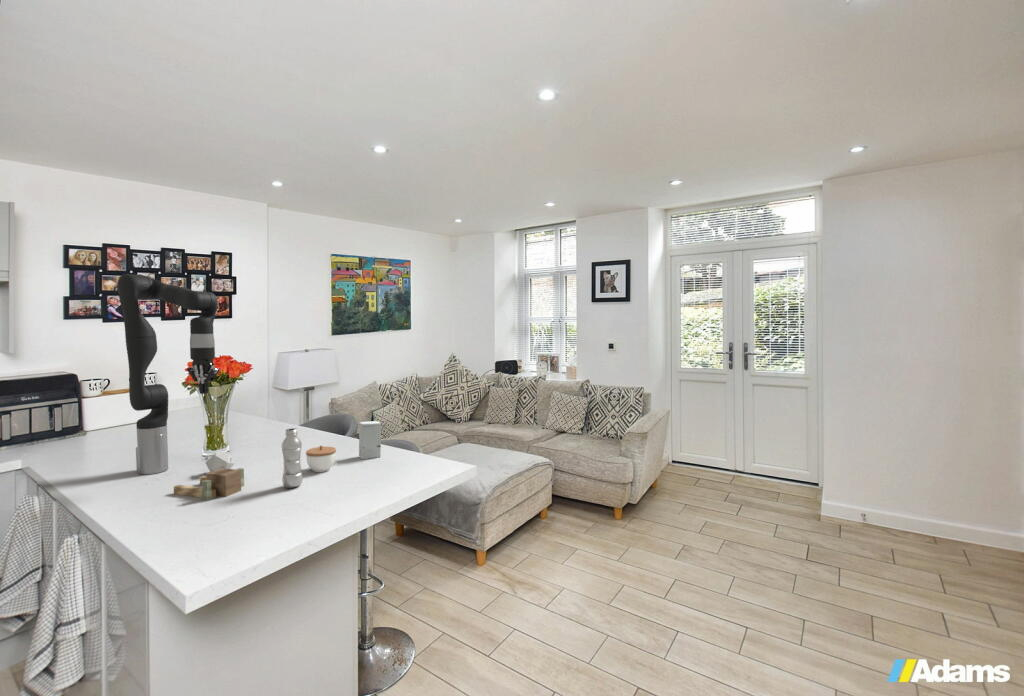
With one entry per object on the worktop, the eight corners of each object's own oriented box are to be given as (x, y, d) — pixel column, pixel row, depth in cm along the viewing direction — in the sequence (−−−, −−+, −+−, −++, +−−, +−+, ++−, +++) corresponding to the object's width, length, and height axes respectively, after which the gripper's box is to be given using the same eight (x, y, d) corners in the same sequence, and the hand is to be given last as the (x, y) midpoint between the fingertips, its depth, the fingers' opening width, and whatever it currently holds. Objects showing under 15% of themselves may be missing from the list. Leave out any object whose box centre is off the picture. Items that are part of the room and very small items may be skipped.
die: (213, 480, 172) (231, 457, 175) (196, 467, 174) (214, 444, 176) (226, 481, 180) (243, 459, 183) (209, 469, 181) (226, 447, 184)
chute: (169, 495, 155) (168, 477, 155) (208, 481, 169) (207, 465, 168) (207, 500, 151) (206, 481, 150) (244, 485, 164) (243, 468, 164)
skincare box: (361, 459, 196) (360, 424, 195) (358, 456, 201) (358, 421, 201) (381, 457, 200) (381, 422, 199) (378, 453, 205) (378, 419, 204)
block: (206, 494, 156) (206, 473, 156) (222, 488, 162) (221, 468, 161) (226, 496, 154) (225, 475, 153) (241, 490, 160) (240, 470, 159)
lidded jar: (316, 475, 175) (315, 451, 175) (301, 470, 182) (300, 446, 181) (341, 468, 184) (341, 445, 183) (326, 464, 190) (326, 441, 190)
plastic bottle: (282, 491, 159) (281, 432, 158) (282, 485, 165) (280, 428, 164) (303, 488, 162) (302, 430, 161) (302, 482, 168) (300, 426, 167)
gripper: (178, 346, 170) (180, 394, 170) (207, 347, 166) (209, 395, 167) (197, 345, 177) (199, 391, 178) (225, 346, 173) (227, 392, 174)
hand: (204, 393), depth 172 cm, fingers closed
